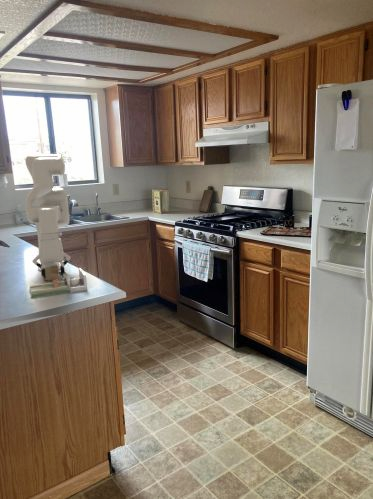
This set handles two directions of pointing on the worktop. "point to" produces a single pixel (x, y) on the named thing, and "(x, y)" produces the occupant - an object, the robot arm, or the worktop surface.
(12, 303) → the worktop surface
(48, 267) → the ceramic mug
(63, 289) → the field
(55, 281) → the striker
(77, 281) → the ball
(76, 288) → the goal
